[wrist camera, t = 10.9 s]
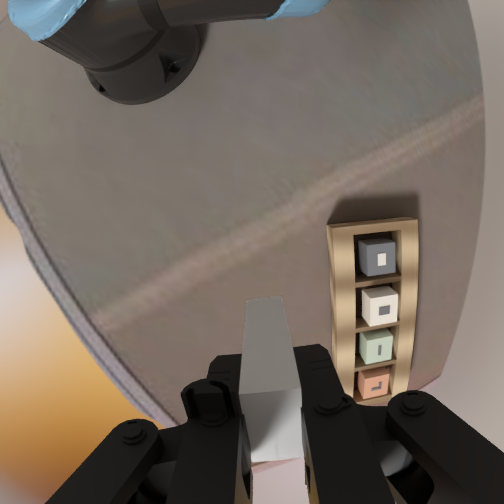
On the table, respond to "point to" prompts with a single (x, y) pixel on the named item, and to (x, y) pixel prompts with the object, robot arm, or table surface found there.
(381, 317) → the cream key
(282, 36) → the table surface
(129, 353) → the table surface
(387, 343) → the sage key
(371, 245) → the charcoal key
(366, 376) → the terracotta key
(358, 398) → the keypad frame
